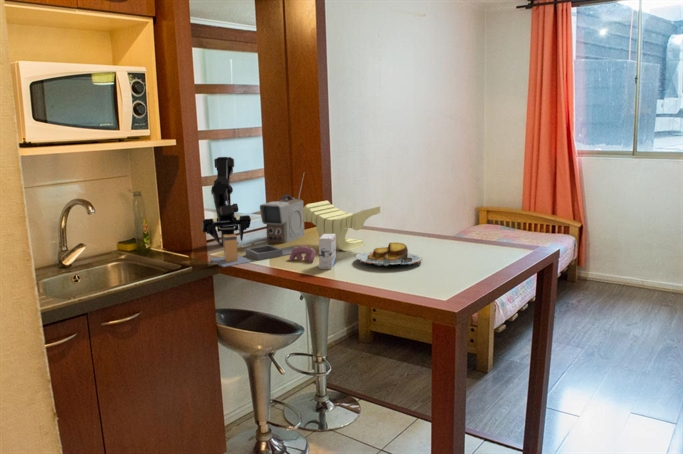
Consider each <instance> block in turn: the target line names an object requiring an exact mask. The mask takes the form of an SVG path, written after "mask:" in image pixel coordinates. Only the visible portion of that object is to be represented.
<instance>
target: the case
mask: <svg viewBox="0 0 683 454" xmlns="http://www.w3.org/2000/svg"><path fill="white" fill-rule="evenodd" d="M295 247H296V246H286V247H279V248H278V247H276V246H273V245H271V244H267V245H260V246H256V247H255V246H253V247H249V248H248V247H247V248H245V256H247V257H249V258H251V259H253V260H255V261H263V260H269V259H275V258H279V257H286V256H290V255H291V253H292V250H293V249H294V248H295Z"/></svg>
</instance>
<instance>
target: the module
mask: <svg viewBox="0 0 683 454" xmlns="http://www.w3.org/2000/svg"><path fill="white" fill-rule="evenodd" d="M237 240H238V237H237V235H236V234H235V233H234V234H226V235H223V245H222V246H223V257H224V260H225V261H226V262H232V261H238V255H239V254H238V244H237V242H238V241H237ZM237 254H238V255H237Z"/></svg>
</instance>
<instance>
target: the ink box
mask: <svg viewBox="0 0 683 454" xmlns="http://www.w3.org/2000/svg"><path fill="white" fill-rule="evenodd" d="M336 264H337V249H336V234H323V235H322V236H321V237H320V238H318V269H320V270H321V269H322V270H332V269H333V268H334V267H335V265H336Z"/></svg>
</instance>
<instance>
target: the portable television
mask: <svg viewBox="0 0 683 454" xmlns="http://www.w3.org/2000/svg"><path fill="white" fill-rule="evenodd" d="M304 177H305V172H303V176H302V179H301V184H300V188H299V193H298V197H297V198H296V197H293V196H291V195H290V194H283V195H282V196H281V198H280V199H279V200H277V201H269V202H266V203H263V204H260V205H259V212H260V217H261V222H262V223H263V224H264V225H266V235H267V236H266V237H267V238H266V239H267V241H266V242H267V244H269V243H275V244H276V243H277V244H287V243H291V242H294V241H295V240H296V241H297V240H298V239H300V238H302V237H305V236H304V235H305V222H303V209H304V207H305V206H304V200H302V198H300V196H301V191H302V187H303V181H304Z"/></svg>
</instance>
